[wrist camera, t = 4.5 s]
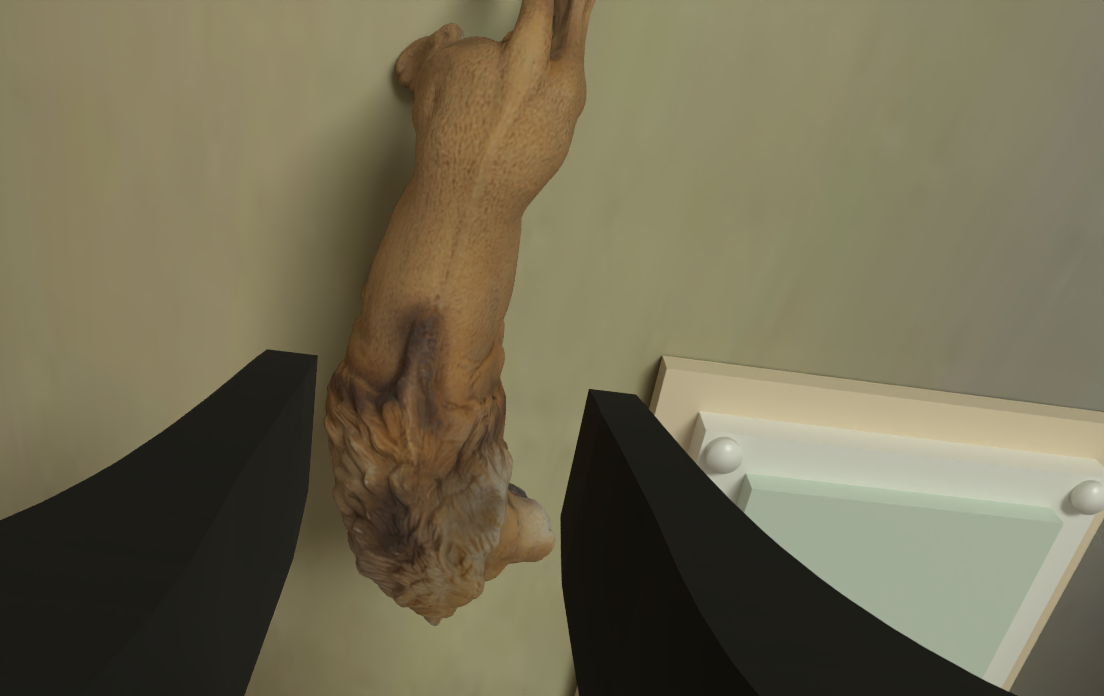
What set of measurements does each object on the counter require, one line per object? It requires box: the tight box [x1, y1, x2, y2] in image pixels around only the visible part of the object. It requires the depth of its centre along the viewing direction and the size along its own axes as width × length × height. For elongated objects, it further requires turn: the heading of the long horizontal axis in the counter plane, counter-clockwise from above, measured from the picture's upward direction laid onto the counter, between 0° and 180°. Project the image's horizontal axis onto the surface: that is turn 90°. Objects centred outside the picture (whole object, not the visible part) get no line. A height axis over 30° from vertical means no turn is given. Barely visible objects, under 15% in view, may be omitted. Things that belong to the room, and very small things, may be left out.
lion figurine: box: [324, 0, 595, 626], centre depth 17 cm, size 12×4×7 cm, turn 173°
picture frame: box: [575, 356, 1104, 696], centre depth 26 cm, size 12×18×2 cm, turn 170°
